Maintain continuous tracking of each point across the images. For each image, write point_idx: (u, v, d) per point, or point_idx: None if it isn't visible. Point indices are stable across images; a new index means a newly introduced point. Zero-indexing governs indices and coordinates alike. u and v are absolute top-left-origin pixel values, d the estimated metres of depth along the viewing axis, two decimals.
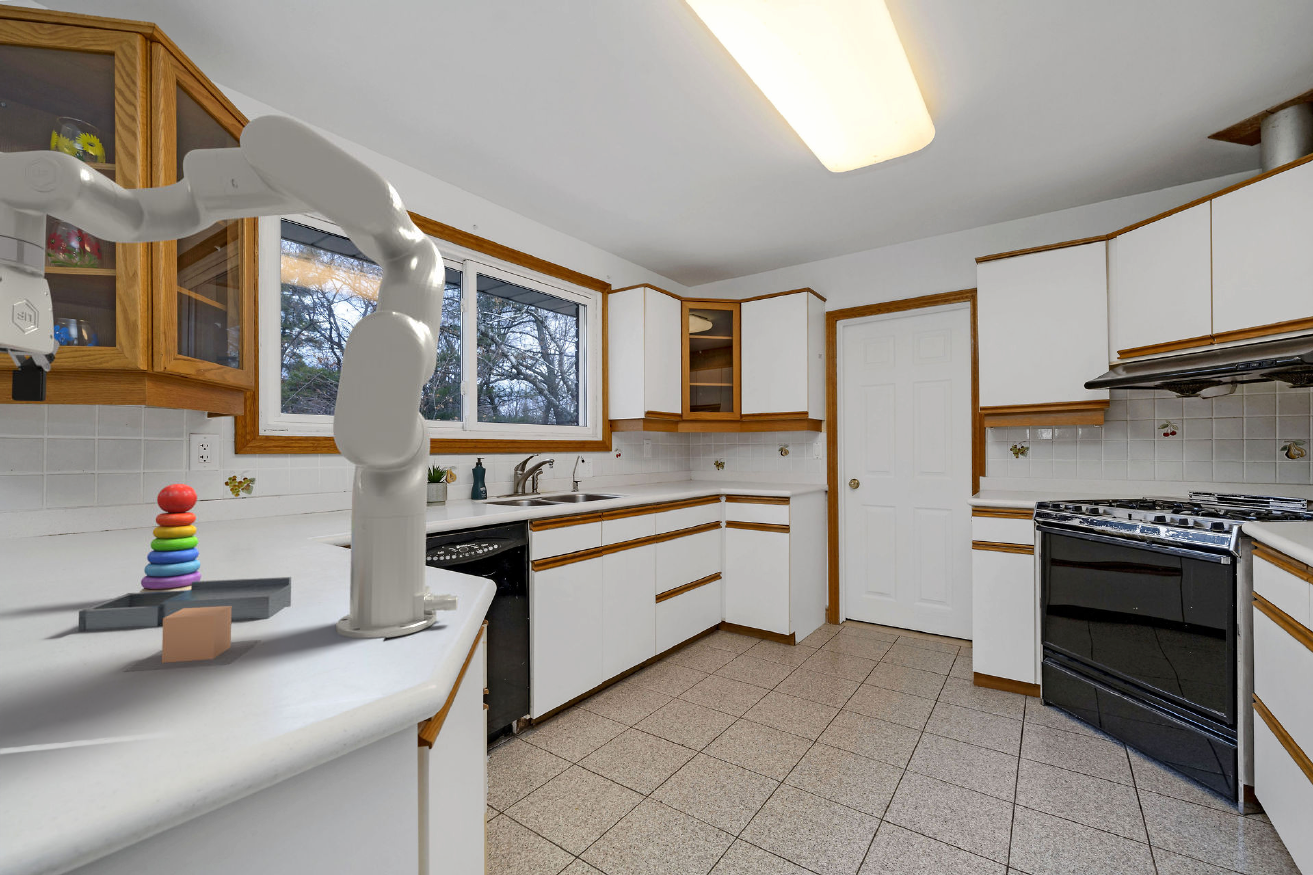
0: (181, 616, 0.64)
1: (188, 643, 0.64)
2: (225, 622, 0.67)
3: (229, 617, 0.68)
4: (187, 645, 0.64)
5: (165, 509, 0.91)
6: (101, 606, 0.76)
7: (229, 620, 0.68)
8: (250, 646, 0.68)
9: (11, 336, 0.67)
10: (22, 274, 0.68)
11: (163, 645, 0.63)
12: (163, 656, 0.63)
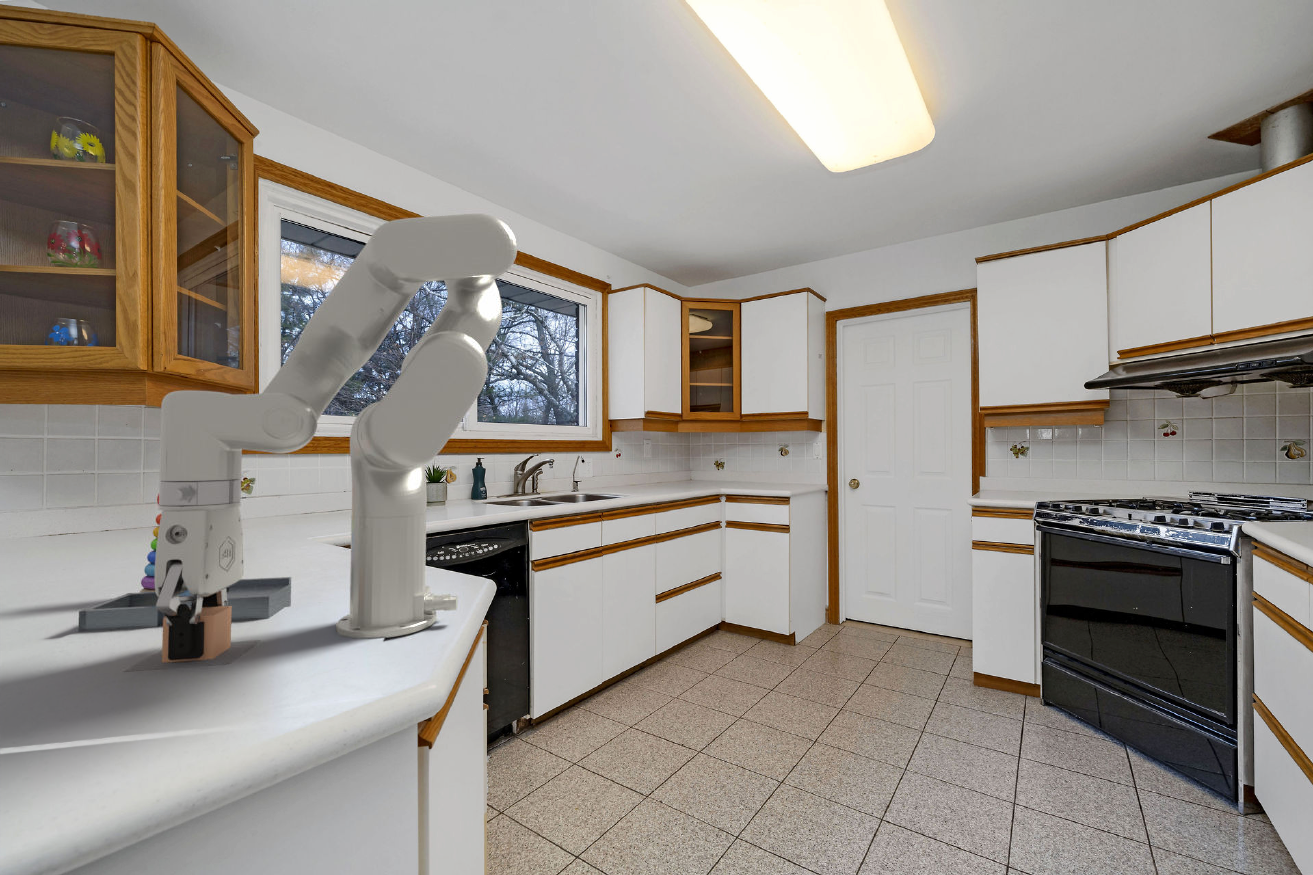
0: None
1: None
2: (225, 622, 0.67)
3: (229, 617, 0.68)
4: None
5: None
6: (101, 606, 0.76)
7: (229, 620, 0.68)
8: (250, 646, 0.68)
9: (218, 581, 0.65)
10: (225, 511, 0.66)
11: (163, 645, 0.63)
12: (163, 656, 0.63)
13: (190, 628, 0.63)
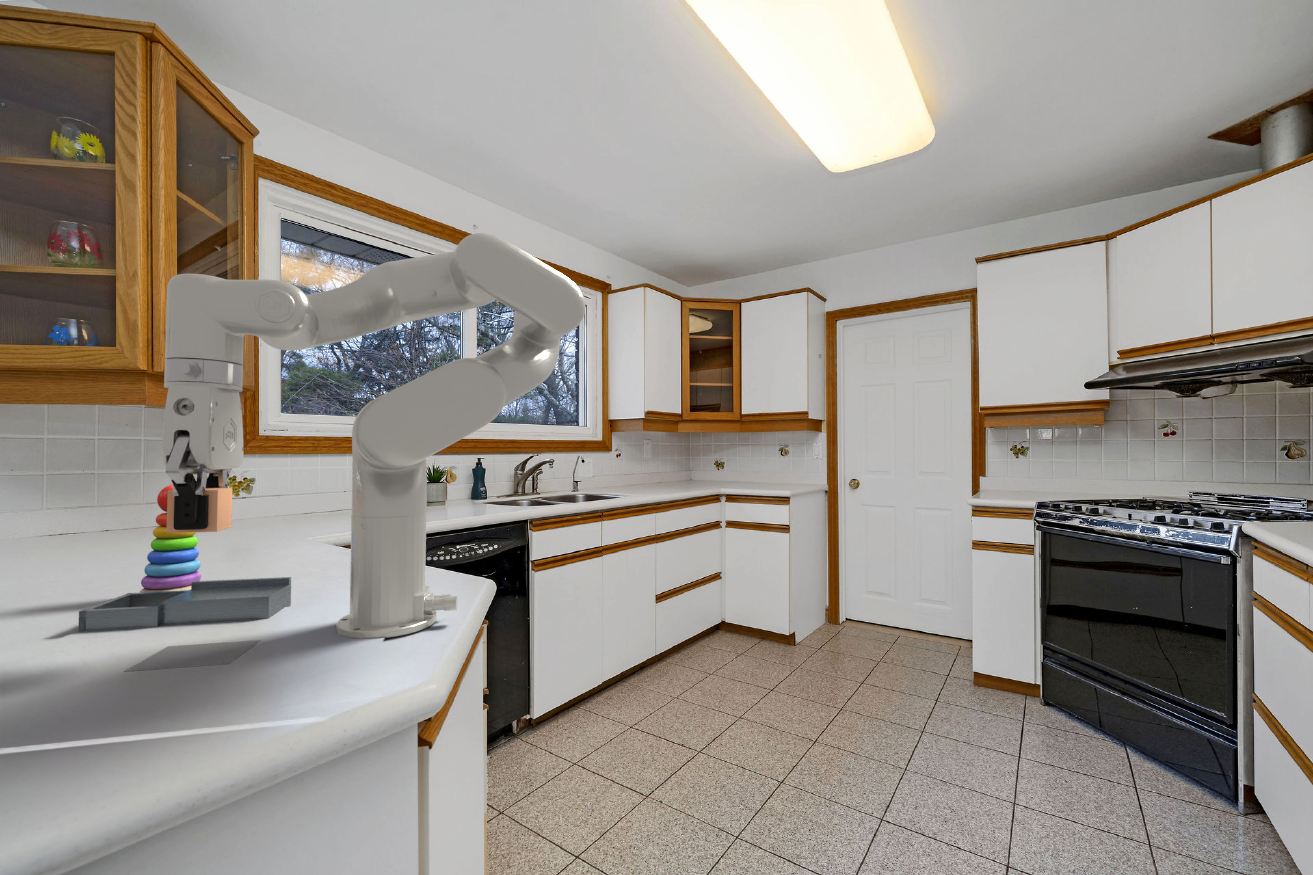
0: None
1: None
2: (227, 501, 0.70)
3: (230, 498, 0.70)
4: None
5: (165, 509, 0.91)
6: (101, 606, 0.76)
7: (230, 501, 0.70)
8: (250, 646, 0.68)
9: (222, 457, 0.67)
10: (228, 394, 0.69)
11: (168, 517, 0.66)
12: (167, 527, 0.66)
13: (195, 499, 0.65)
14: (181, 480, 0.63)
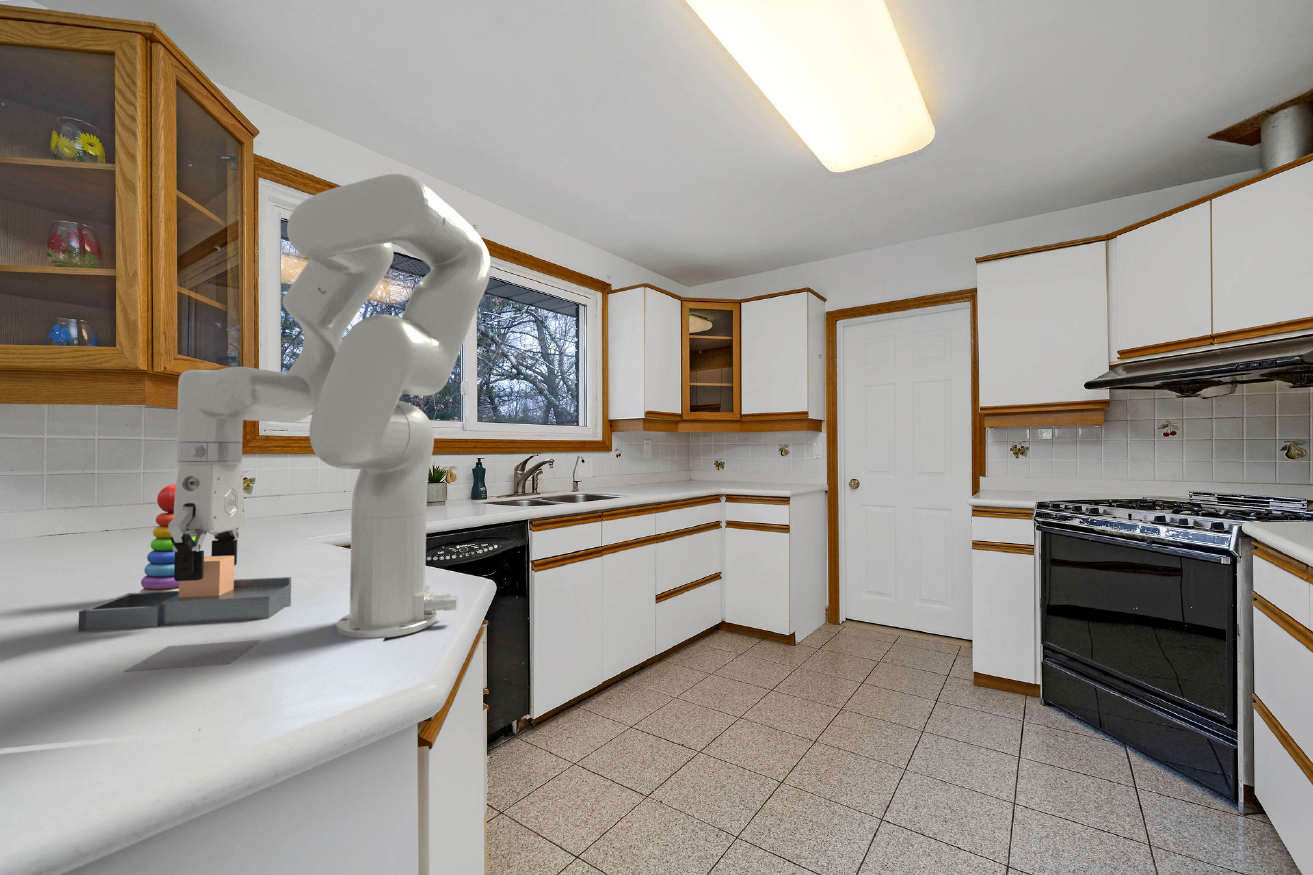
0: None
1: (199, 582, 0.79)
2: (229, 568, 0.82)
3: (232, 564, 0.83)
4: (198, 584, 0.79)
5: (165, 509, 0.91)
6: (101, 606, 0.76)
7: (232, 567, 0.83)
8: (250, 646, 0.68)
9: (224, 523, 0.80)
10: (229, 468, 0.82)
11: (180, 584, 0.79)
12: (179, 592, 0.79)
13: (192, 555, 0.76)
14: (179, 537, 0.74)
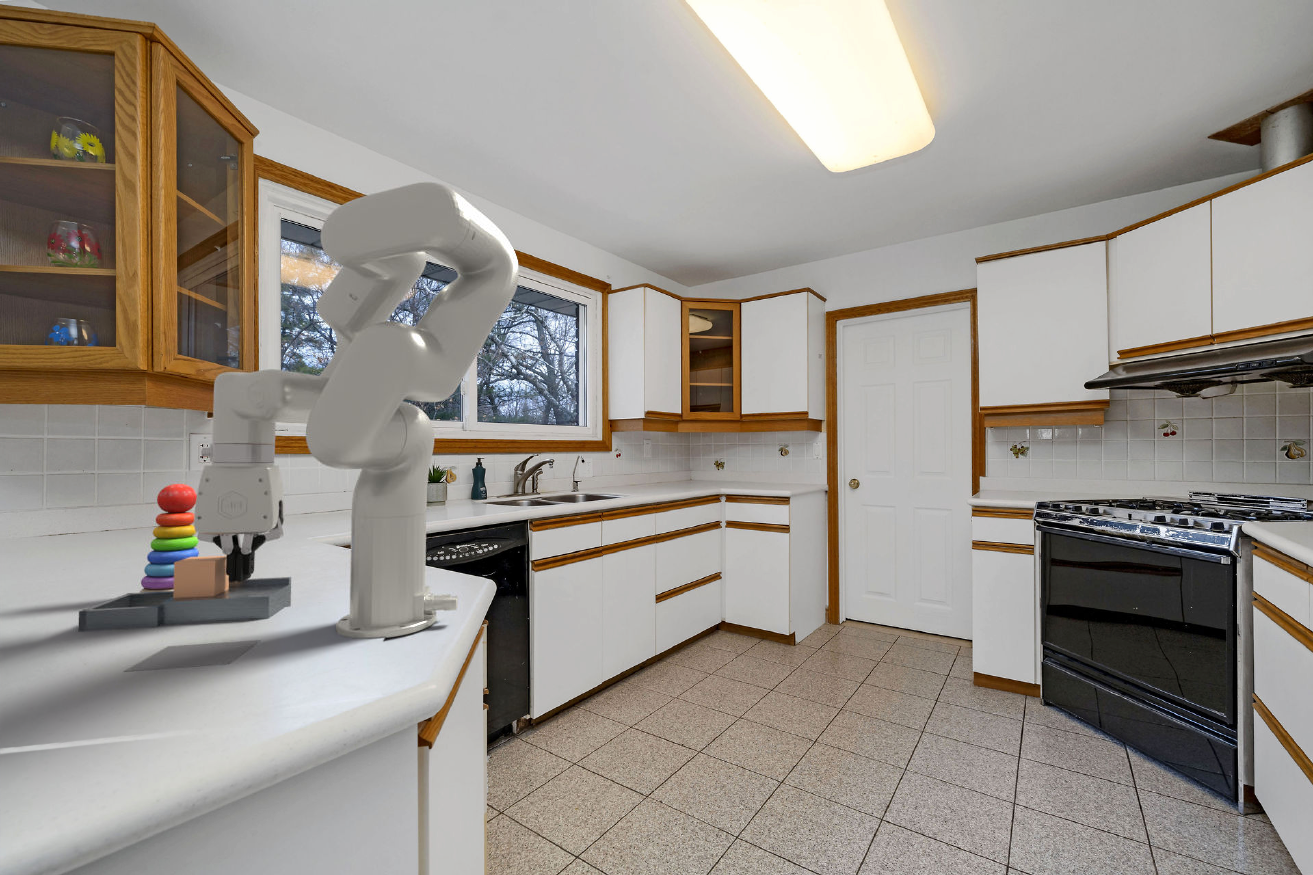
0: (188, 561, 0.79)
1: (194, 582, 0.79)
2: (224, 568, 0.82)
3: None
4: (193, 584, 0.79)
5: (165, 509, 0.91)
6: (101, 606, 0.76)
7: None
8: (250, 646, 0.68)
9: (217, 525, 0.79)
10: (230, 470, 0.80)
11: (174, 584, 0.79)
12: (174, 592, 0.79)
13: (227, 556, 0.81)
14: None
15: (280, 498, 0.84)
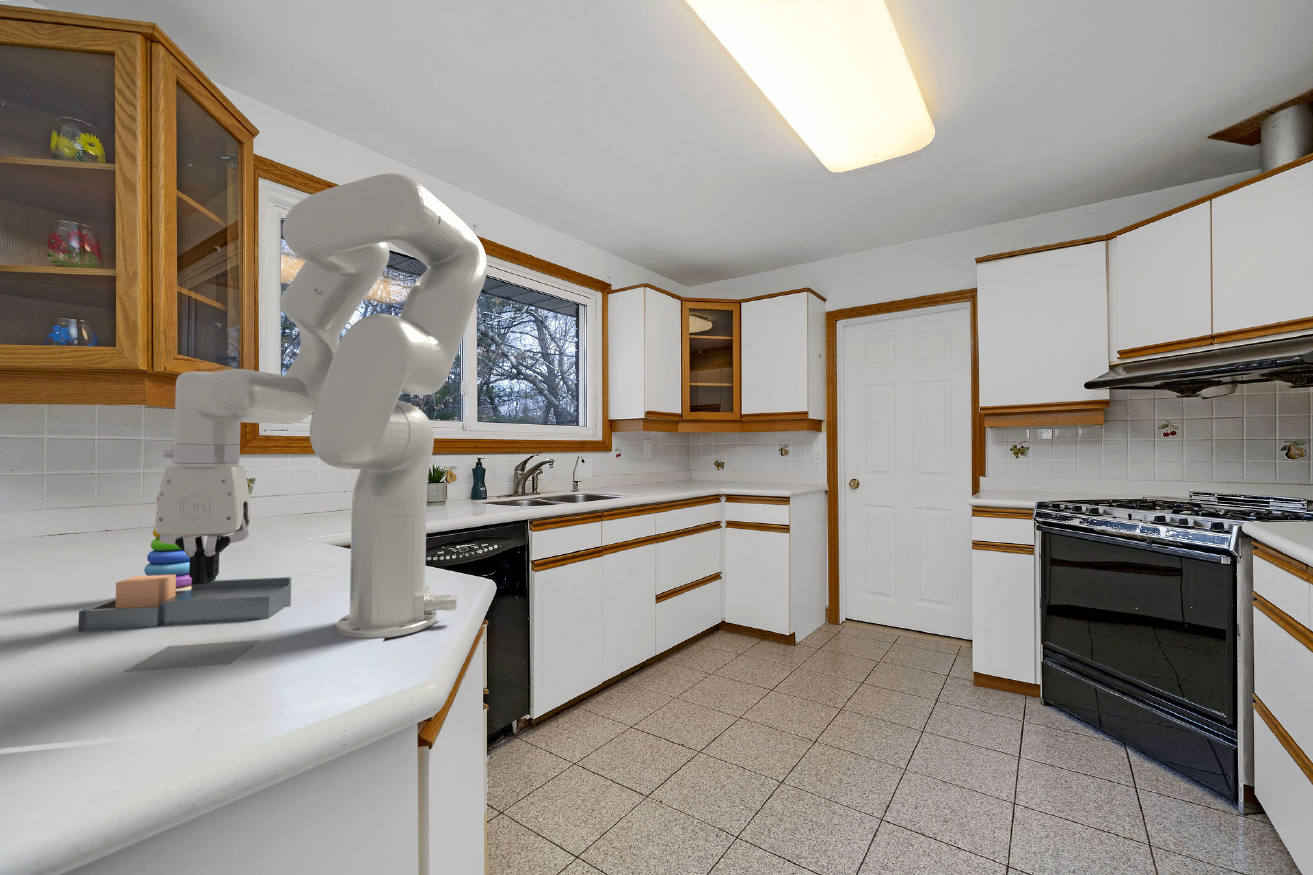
0: None
1: (141, 599, 0.78)
2: (142, 577, 0.80)
3: (144, 576, 0.81)
4: (143, 599, 0.78)
5: None
6: (101, 606, 0.76)
7: (148, 576, 0.81)
8: (250, 646, 0.68)
9: (179, 526, 0.78)
10: (192, 470, 0.79)
11: None
12: None
13: (190, 559, 0.80)
14: None
15: (244, 499, 0.82)
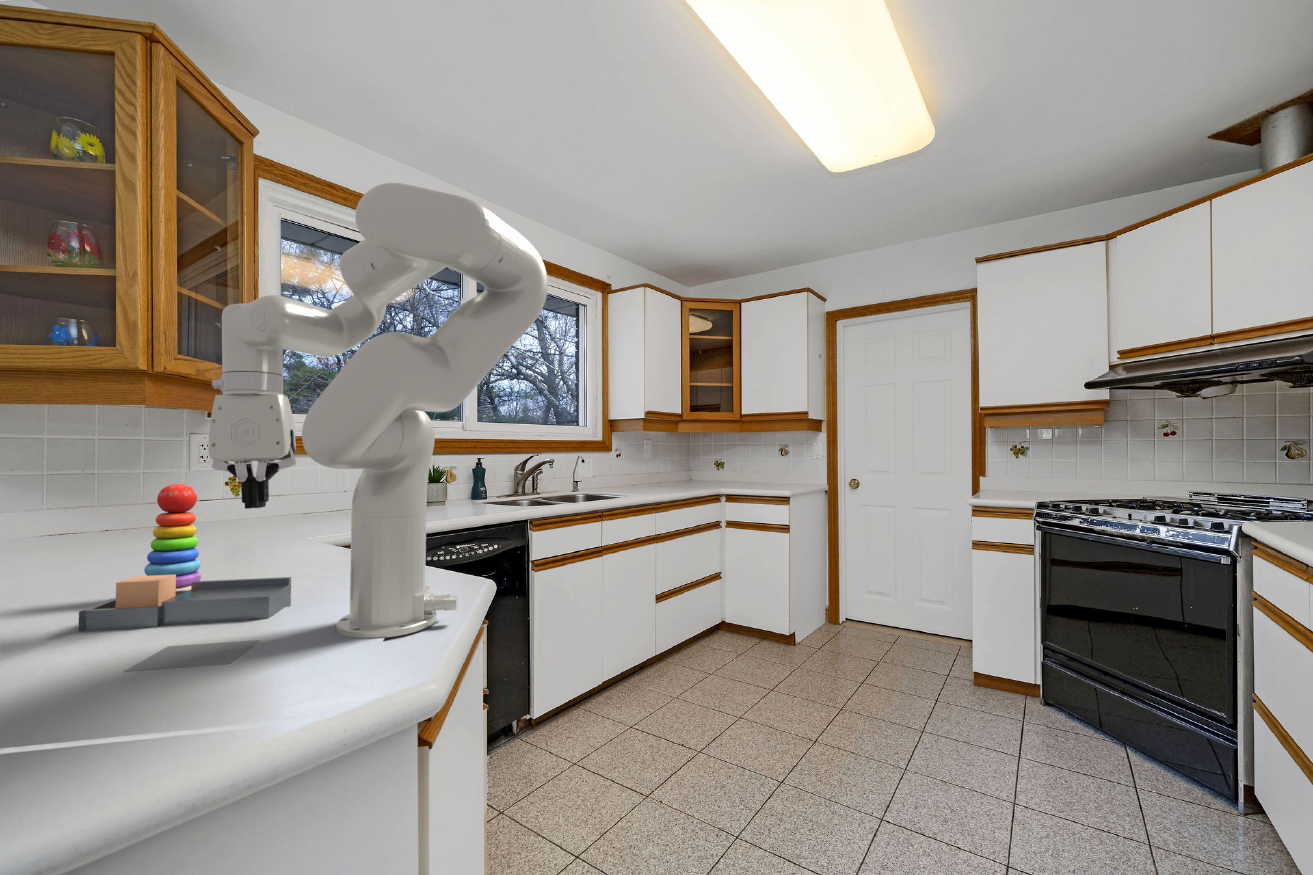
0: None
1: (141, 599, 0.78)
2: (142, 577, 0.80)
3: (144, 576, 0.81)
4: (143, 599, 0.78)
5: (165, 509, 0.91)
6: (101, 606, 0.76)
7: (148, 576, 0.81)
8: (250, 646, 0.68)
9: (231, 451, 0.81)
10: (242, 398, 0.82)
11: None
12: None
13: (242, 484, 0.83)
14: None
15: (291, 427, 0.86)
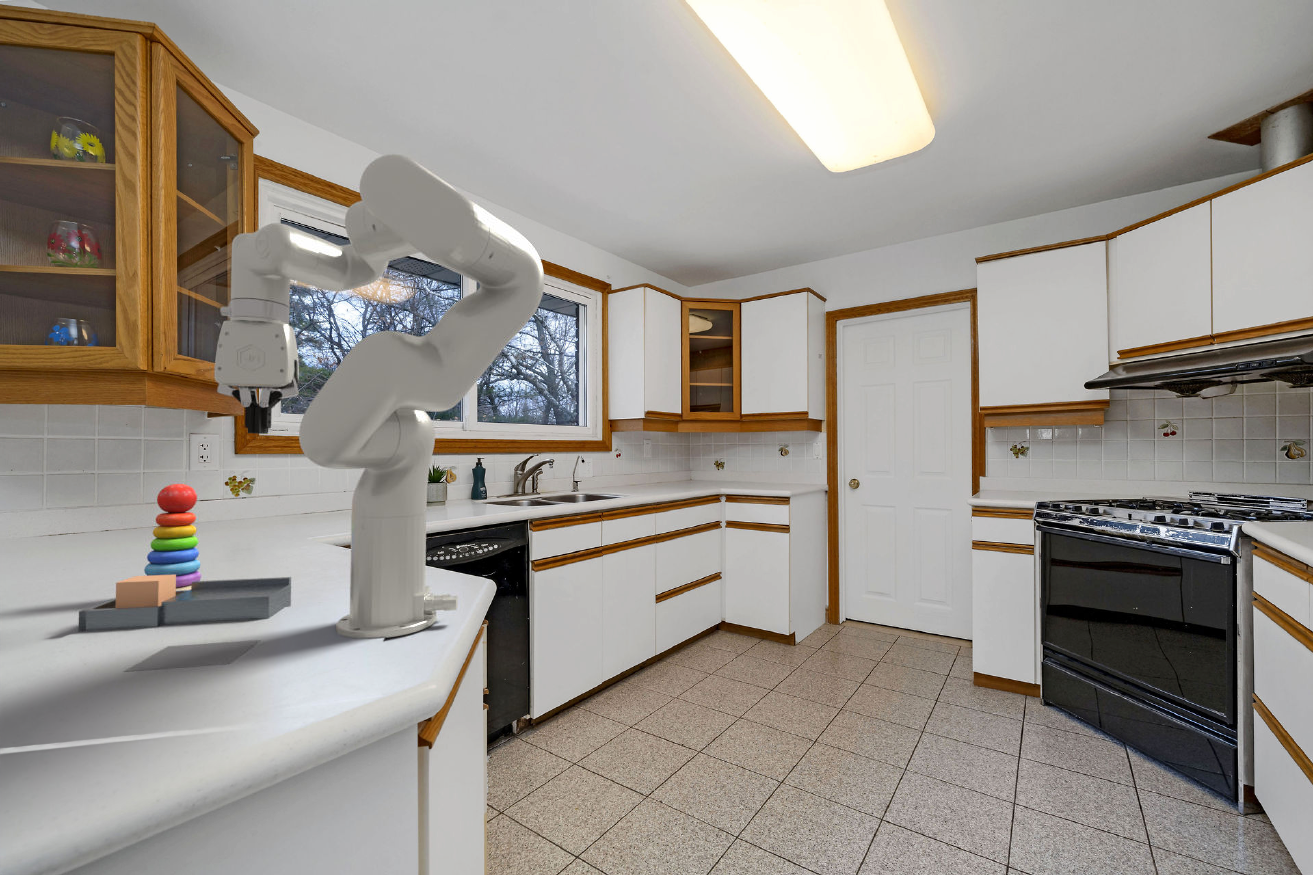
0: None
1: (141, 599, 0.78)
2: (142, 577, 0.80)
3: (144, 576, 0.81)
4: (143, 599, 0.78)
5: (165, 509, 0.91)
6: (101, 606, 0.76)
7: (148, 576, 0.81)
8: (250, 646, 0.68)
9: (236, 376, 0.84)
10: (248, 325, 0.84)
11: None
12: None
13: (246, 410, 0.86)
14: None
15: (295, 357, 0.88)
